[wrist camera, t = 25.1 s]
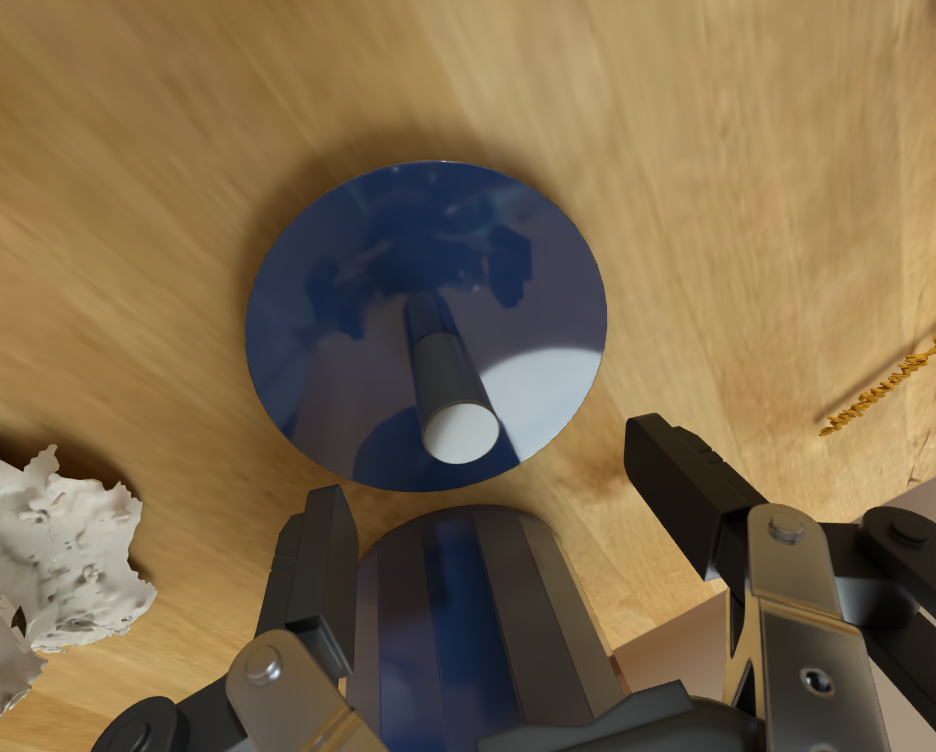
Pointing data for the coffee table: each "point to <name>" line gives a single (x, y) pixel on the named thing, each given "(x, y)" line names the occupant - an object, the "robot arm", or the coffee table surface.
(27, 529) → the frog
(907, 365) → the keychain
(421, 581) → the tin
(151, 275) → the coffee table surface
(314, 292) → the lid
